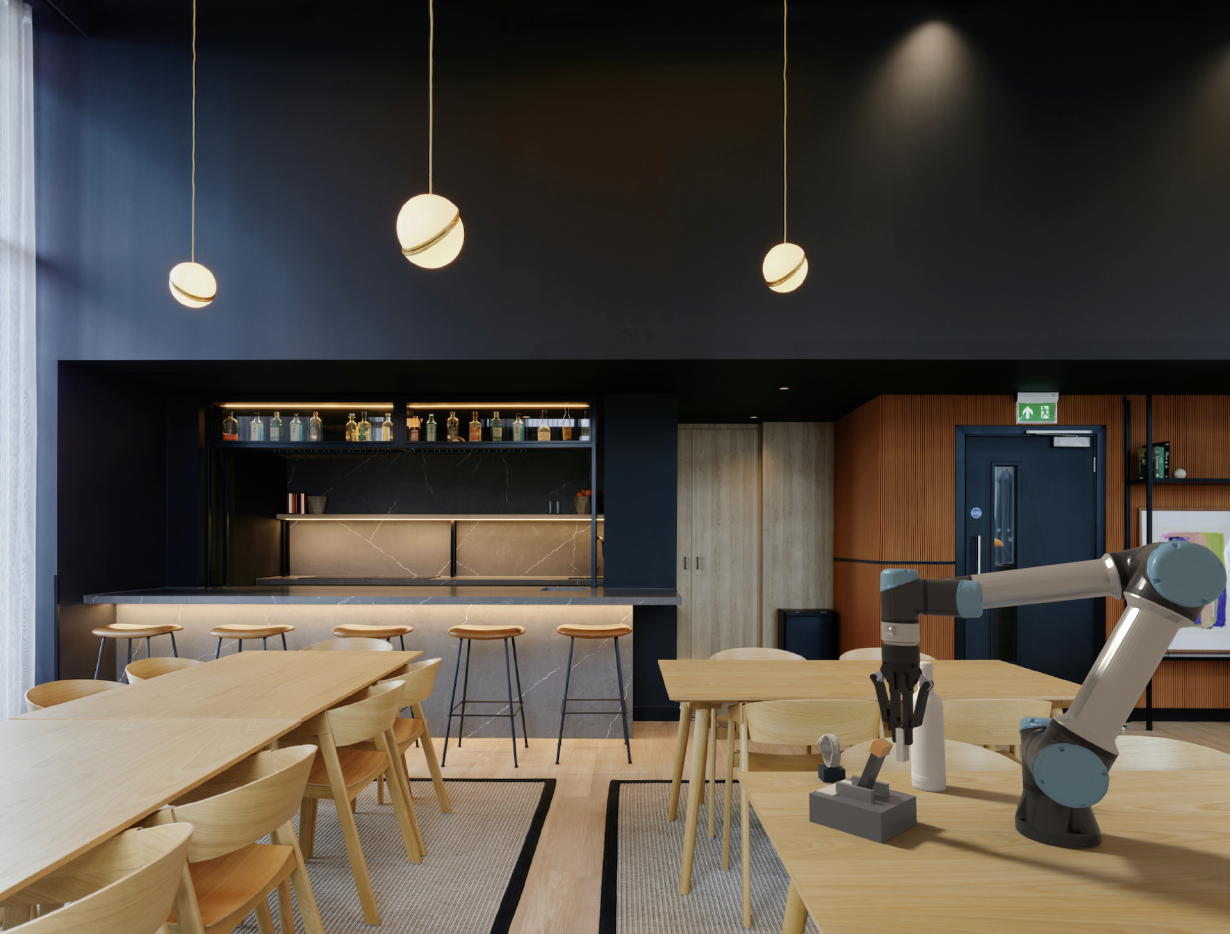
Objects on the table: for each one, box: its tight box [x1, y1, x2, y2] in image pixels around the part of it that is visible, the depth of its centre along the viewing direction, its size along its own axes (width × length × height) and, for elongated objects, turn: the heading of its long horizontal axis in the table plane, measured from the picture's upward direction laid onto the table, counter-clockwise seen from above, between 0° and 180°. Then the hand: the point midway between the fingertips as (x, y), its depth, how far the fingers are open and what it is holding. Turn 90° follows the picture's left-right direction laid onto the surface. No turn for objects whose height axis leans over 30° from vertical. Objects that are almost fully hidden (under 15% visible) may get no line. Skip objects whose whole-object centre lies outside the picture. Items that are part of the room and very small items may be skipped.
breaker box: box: [808, 774, 918, 844], centre depth 156 cm, size 16×16×8 cm
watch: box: [816, 733, 847, 784], centre depth 186 cm, size 6×8×11 cm
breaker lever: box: [857, 737, 894, 789], centre depth 155 cm, size 2×4×11 cm, turn 132°
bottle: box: [910, 660, 947, 793], centre depth 182 cm, size 8×8×30 cm
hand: (902, 760), depth 151 cm, fingers closed
